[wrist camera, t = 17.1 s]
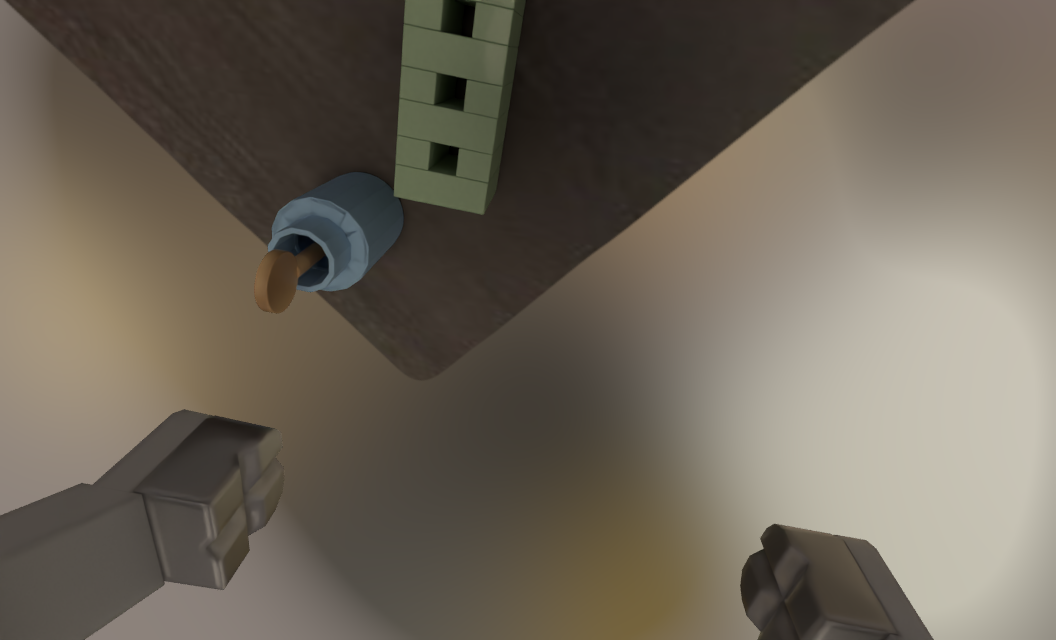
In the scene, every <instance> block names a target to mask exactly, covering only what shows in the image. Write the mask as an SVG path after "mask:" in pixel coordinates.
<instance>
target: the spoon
mask: <svg viewBox="0 0 1056 640" xmlns="http://www.w3.org/2000/svg"><path fill="white" fill-rule="evenodd" d="M325 255H326V254H325V252H324V250H323V248H322V247H321V246H320V245H319V244H318V243H316V242H314V243H313V244H311V245H310V246H309V247H307V248H306V249H304V250H303V251H302V252H300V253H299V254H298V255H296V256H294V254H292V253H291V252H289V251H284V250H279V249H274V250H271V251H270V252H268V253H267V254H266V255H265V257H264V258H263V260H262V261H261V263H260V265H259V268H258V270H257V274H256V278H255V286H254V293H255V299H256V303H257V305H258V306H259V308H260V309H262V310H263V311H266V312H271V313H281V312H283V311H284V310H285V309H286V308H287V307H288V306H289V305H290V303H291V301H292V299H293V297H294V295H295V292H296V288H297V284H298V278H299V277H300V276H301V275H302V274H303V273H305V272H306V271H307V270H308V269H310V268H311V267H312V266H313V265H314V264H316V263H317V262H318V261H319V260H321V259H322V258H323V257H324V256H325Z"/></svg>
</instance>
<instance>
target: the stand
mask: <svg viewBox="0 0 1056 640" xmlns="http://www.w3.org/2000/svg"><path fill="white" fill-rule="evenodd" d="M525 2H526V0H405V11H404V23H405V24H404V28H403V45H402V62H401V64H402V65H403V66H401V79H400V96H399V97H400V99H399V113H398V130H397V134H398V135H397V146H396V165H395V181H394V196H395V197H399V198H404V199H409V200H414V201H418V202H423V203H428V204H433V205H438V206H443V207H448V208H453V209H457V210H462V211H467V212H472V213H477V214H482V215H483V214H484V213H485V211H486V209H487V207H488V205H489V204H490V202H491V200H492V198H493V196H494V194H495V193H496V188H497V182H498V175H499V169H500V162H501V156H502V150H503V143H504V137H505V130H506V124H507V118H508V111H509V110H508V109H509V105H510V99H511V92H512V86H513V79H514V73H515V66H516V60H517V54H518V48H517V47H519V41H520V34H521V28H522V22H523V15H524V9H525ZM464 5H468V6H473V7H475V16H474V24H473V33H472V38H471V37H466V36H462V35H461V34H462V25H463V15H464ZM457 77H459V78H464V79H468V80H467V84H466V93H465V100H462V99H458V98H454V97H455V90H456V81H457ZM449 146H454V147H459V153H458V156H455V155H450V154H449Z"/></svg>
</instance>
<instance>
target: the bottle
mask: <svg viewBox="0 0 1056 640" xmlns="http://www.w3.org/2000/svg"><path fill="white" fill-rule="evenodd" d="M403 221H404V216H403V209H402V206H401V203H400V200H399V199H398V197H395V196H394V191H393V190H392V188H391V187H390V186H389V185H388V184H386V183H385V182H384V181H383V180H381V179H379V178H378V177H376V176H373V175H371V174H367V173H362V172H352V173H347V174H344V175H340V176H338V177H336V178H334V179H332V180H330V181H329V182H327V183H325V184H323V185H321V186H319V187H317V188H315V189H313V190H311V191H309V192H307V193H305V194H303V195H302V196H300V197H298V198H296V199H294V200H292V201H290V202H289V203H288V204H287V205H286V206H284V207H283V208H282V209H281V210H279V212H278V213H277V216H276V218H275V221H274V223H273V226H272V240H271V241H270V243H269V245H268V252H270V251H271V250H274V249H279V250H284V251H289V252H291V253H292V254H294V256H296V255H298V254H299V253H300V252H302V251H303V250H304V249H306V248H307V247H309V246H310V245H311V244H313V243H314V242H316V243H318V244H319V245H320V246H321V247H322V248H323V250H324V252H325V254H326V255H325V256H324V257H323V258H322V259H321V260H319V261H318V262H317V263H316V264H314V265H313V266H312V267H311V268H310V269H308V270H307V271H306V272H305V273H303V274H302V275H301V276H300V277H299V278H298V284H297V288H296V289H297V290H302V291H307V292H313V291H316V290H320V289H321V290H326V291H335V290H341V289H347V288H348V287H350V286H351V285H353V284H354V283H356V282H357V281H359V280H360V279H361V278H362V277H363V276H364V275H365V274H366V273H367V272H368V270H369V269H370V268H371V267H372V266H373V265H374V264H375V263H376V262H377V261H378V260H379V259H380V258H381V257H382V256H383V254H384V253H385V252H386V251H387V250H388V249H389V248H390V247H391V246H392V245H393V244H394V243H395V241H396V239H397V238H398V237H399V235H400V233H401V231H402V227H403Z"/></svg>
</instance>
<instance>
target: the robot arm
mask: <svg viewBox="0 0 1056 640" xmlns="http://www.w3.org/2000/svg"><path fill="white" fill-rule="evenodd" d="M282 447H283V446H282V438H281V432H280V431H278V430H277V429H275V428H270V427H265V426H261V425H256V424H252V423H247V422H242V421H238V420H233V419H229V418H224V417H219V416H212V415H207V414H202V413H198V412H193V411H189V410H181V411H178V412H176V413H173V414H172V415H170V416H169V417H168V418H167V419H166V420H165V421H164V422H162V423H161V424H160V425H159V426H158V427H157V428H156V429H155V430H154V431H152V432H151V433H150V434H149V435H148V436H147V437H146V438H145V439H143V440H142V441H141V442H140V443H139V444H138V445H137V446H135V447H134V448H133V449H132V450H131V451H130V452H129V453H128V454H127V455H125V456H124V457H123V458H122V459H121V460H120V461H119V462H118V463H116V464H115V466H113V467H112V468H111V469H110V470H109V471H107V472H106V473H105V474H104V475H103V476H102V477H101V478H100V479H99V480H98V481H96V482H95V483H94V484H93V485H90V484H83V483H81V484H78V485H76V486H73V487H71V488H68V489H66V490H63V491H61V492H59V493H56V494H53V495H51V496H48V497H46V498H43V499H41V500H38V501H36V502H33V503H31V504H28V505H26V506H23V507H20V508H18V509H15V510H13V511H10V512H8V513H5V514H3V515H0V640H85V639H86V638H87V637H89V636H91V635H92V634H93V633H95V632H96V631H98V630H99V629H101V628H102V627H104V626H105V625H107V624H108V623H110V622H111V621H112V620H114V619H115V618H117V617H118V616H120V615H121V614H123V613H124V612H126V611H127V610H128V609H130V608H131V607H133V606H134V605H136V604H137V603H139V602H140V601H142V600H143V599H145V598H146V597H147V596H149V595H150V594H152V593H153V592H155V591H156V590H158V589H159V588H161V587H162V586H163V585H164V581H168V582H174V583H180V584H187V585H194V586H201V587H207V588H214V589H220V590H224V589H225V587H226V586H227V584H228V583H229V581H230V580H231V578H232V577H233V575H234V573H235V572H236V570H237V569H238V567H239V566H240V564H241V562H242V561H243V560H244V558H245V557H246V555H247V554H248V552H249V550H250V549H249V541H248V536H249V535H251V534H252V533H254V532H256V531H257V530H259V529H261V528H263V527H264V526H266V524H267V523H268V521H269V519H270V517H271V516H272V514H273V513H274V511H275V509H276V507H277V504H278V501H279V499H280V497H281V494H282V490H283V484H284V467H283V466H282V465H281V463H280V462H279V461H278V460H277V459H276V456H277V454H278V453H279V452H280V450H281V448H282ZM761 542H762V545H763V547H764V549H763V550H760V551H758V552H756V553H754V554H752V555H750V556H749V558H748V560H747V562H746V563H745V565H744V567H743V569H742V577H741V585H740V586H741V596H742V602H743V605H744V608H745V612H746V615H747V617H748V618H749V619H750V620H751V621H752V622H753V623H754V625H755V626H756V627H757V628H758V629H759V630H760V631H761V632H760V635H759V637H758V640H934V639H933V638H932V636H931V635H930V633H929V632H928V630H927V628H926V627H925V625H924V624H923V622H922V621H921V619H920V617H919V616H918V614H917V613H916V611H915V609H914V608H913V606H912V605H911V603H910V601H909V600H908V598H907V597H906V595H905V594H904V592H903V591H902V589H901V587H900V586H899V584H898V583H897V581H896V579H895V578H894V576H893V575H892V573H891V572H890V570H889V568H888V567H887V565H886V564H885V562H884V560H883V559H882V557H881V556H880V554H879V552H878V551H877V549H876V548H875V547H874V546H872V545H871V544H870V543H869V542H868V541H866V540H861V539H856V538H850V537H845V536H839V535H832V534H828V533H822V532H817V531H812V530H806V529H801V528H795V527H790V526H784V525H779V524H773V525H771V526H770V527H768V528H767V529H766V530H765V532H764V533H763V535H762V536H761Z"/></svg>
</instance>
